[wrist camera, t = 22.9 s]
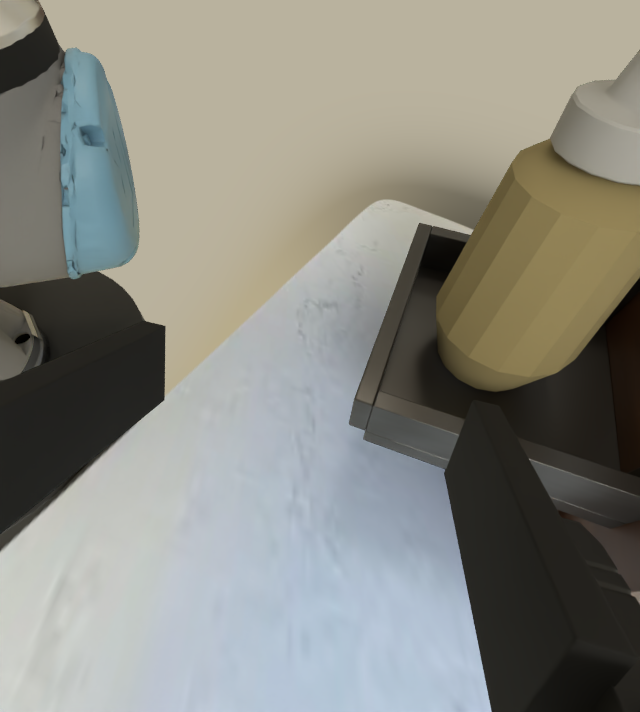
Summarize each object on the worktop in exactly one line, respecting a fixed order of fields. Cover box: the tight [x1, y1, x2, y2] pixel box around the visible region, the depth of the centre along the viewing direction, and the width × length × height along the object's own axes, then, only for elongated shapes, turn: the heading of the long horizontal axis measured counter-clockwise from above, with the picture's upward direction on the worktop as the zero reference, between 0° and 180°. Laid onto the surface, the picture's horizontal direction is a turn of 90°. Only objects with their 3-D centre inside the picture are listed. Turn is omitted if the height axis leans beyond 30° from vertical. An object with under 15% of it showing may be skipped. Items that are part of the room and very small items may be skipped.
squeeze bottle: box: [436, 50, 640, 392], centre depth 17 cm, size 8×8×18 cm
